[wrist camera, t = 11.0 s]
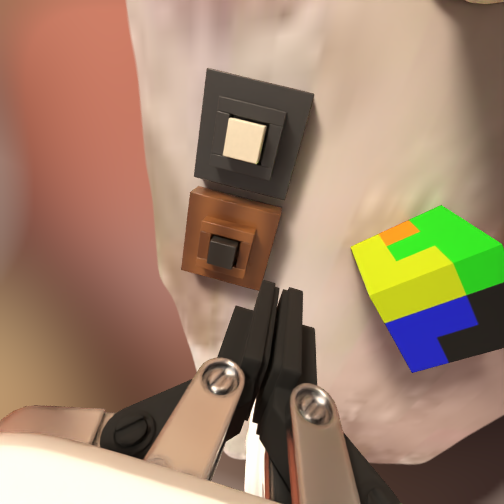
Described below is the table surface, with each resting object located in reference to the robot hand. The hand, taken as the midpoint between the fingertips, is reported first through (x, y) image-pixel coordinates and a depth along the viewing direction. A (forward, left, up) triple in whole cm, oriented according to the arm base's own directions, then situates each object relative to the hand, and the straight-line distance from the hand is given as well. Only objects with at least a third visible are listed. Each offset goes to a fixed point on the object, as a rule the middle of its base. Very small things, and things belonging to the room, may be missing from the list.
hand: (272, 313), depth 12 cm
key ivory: (+5, -4, -19) cm, 20 cm away
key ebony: (+5, +7, -18) cm, 20 cm away
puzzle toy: (-16, +5, -22) cm, 28 cm away
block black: (+5, -4, -22) cm, 23 cm away
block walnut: (+5, +7, -22) cm, 24 cm away
